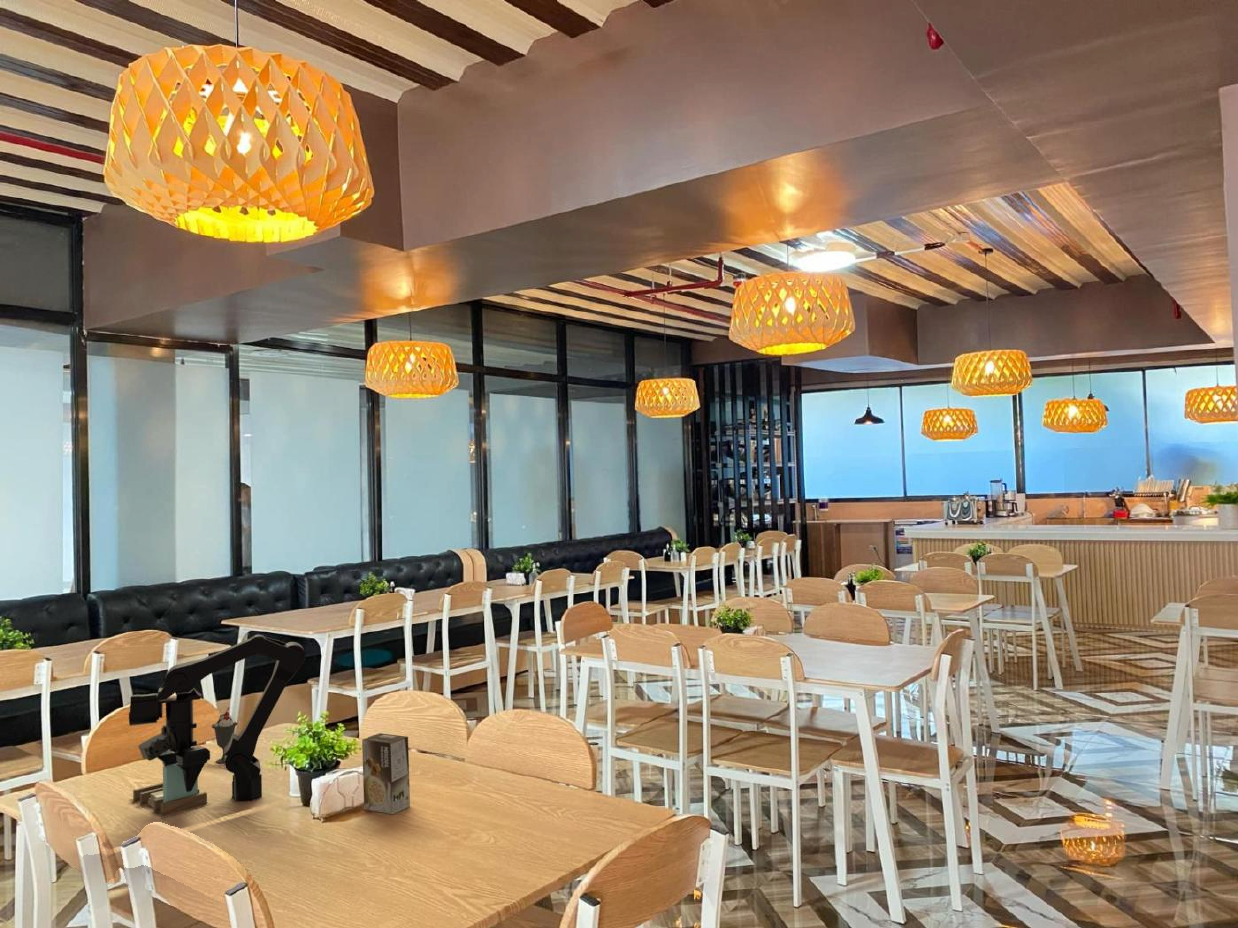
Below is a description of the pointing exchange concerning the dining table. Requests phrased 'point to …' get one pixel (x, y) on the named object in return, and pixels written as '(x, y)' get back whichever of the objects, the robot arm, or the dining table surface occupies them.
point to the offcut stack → (155, 797)
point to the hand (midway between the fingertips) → (180, 787)
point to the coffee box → (386, 773)
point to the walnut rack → (170, 807)
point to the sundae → (224, 732)
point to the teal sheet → (175, 784)
